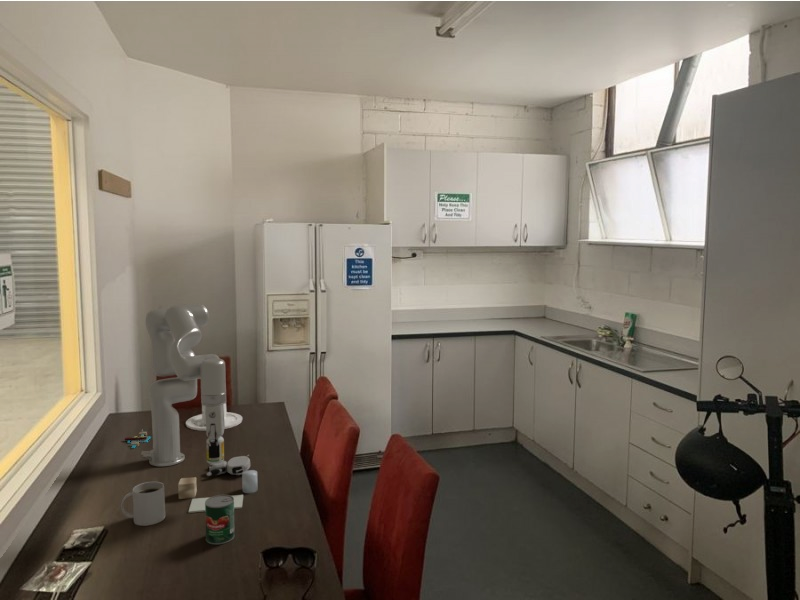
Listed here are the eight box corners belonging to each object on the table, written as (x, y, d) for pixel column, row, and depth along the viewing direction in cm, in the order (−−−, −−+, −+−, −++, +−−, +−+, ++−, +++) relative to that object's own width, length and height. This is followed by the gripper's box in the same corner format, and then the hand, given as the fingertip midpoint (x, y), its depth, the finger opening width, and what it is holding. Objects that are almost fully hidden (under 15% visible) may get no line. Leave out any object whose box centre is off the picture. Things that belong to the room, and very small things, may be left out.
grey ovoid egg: (242, 493, 197) (241, 476, 196) (242, 487, 202) (242, 470, 201) (257, 492, 198) (257, 475, 197) (257, 486, 203) (257, 469, 202)
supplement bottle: (212, 465, 184) (211, 435, 183) (203, 461, 187) (202, 431, 186) (227, 460, 188) (227, 431, 187) (218, 456, 191) (217, 427, 190)
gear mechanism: (118, 451, 237) (143, 449, 238) (117, 437, 236) (142, 436, 238) (131, 434, 256) (154, 433, 258) (131, 422, 256) (154, 421, 257)
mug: (171, 514, 182) (170, 483, 181) (149, 529, 173) (147, 496, 172) (143, 509, 185) (142, 478, 184) (120, 523, 176) (118, 490, 175)
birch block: (178, 499, 193) (178, 484, 192) (181, 492, 198) (180, 478, 197) (194, 497, 194) (194, 483, 193) (196, 491, 199) (196, 477, 198)
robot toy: (206, 483, 207) (250, 477, 210) (204, 471, 207) (248, 465, 209) (210, 470, 219) (251, 464, 222) (209, 458, 219) (250, 452, 221)
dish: (187, 417, 281) (186, 394, 279) (241, 412, 288) (240, 390, 287) (184, 433, 257) (183, 408, 256) (243, 428, 265) (243, 403, 264)
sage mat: (188, 512, 183) (188, 511, 183) (192, 500, 192) (192, 498, 192) (241, 508, 186) (241, 506, 186) (243, 496, 195) (243, 494, 195)
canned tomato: (207, 547, 163) (206, 508, 162) (204, 533, 170) (203, 497, 169) (236, 541, 166) (235, 503, 165) (232, 528, 173) (231, 492, 172)
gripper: (223, 405, 178) (225, 463, 180) (228, 390, 194) (229, 443, 196) (197, 406, 176) (199, 465, 178) (204, 391, 193) (205, 445, 195)
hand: (215, 453), depth 187 cm, fingers closed on supplement bottle, 5 cm apart
